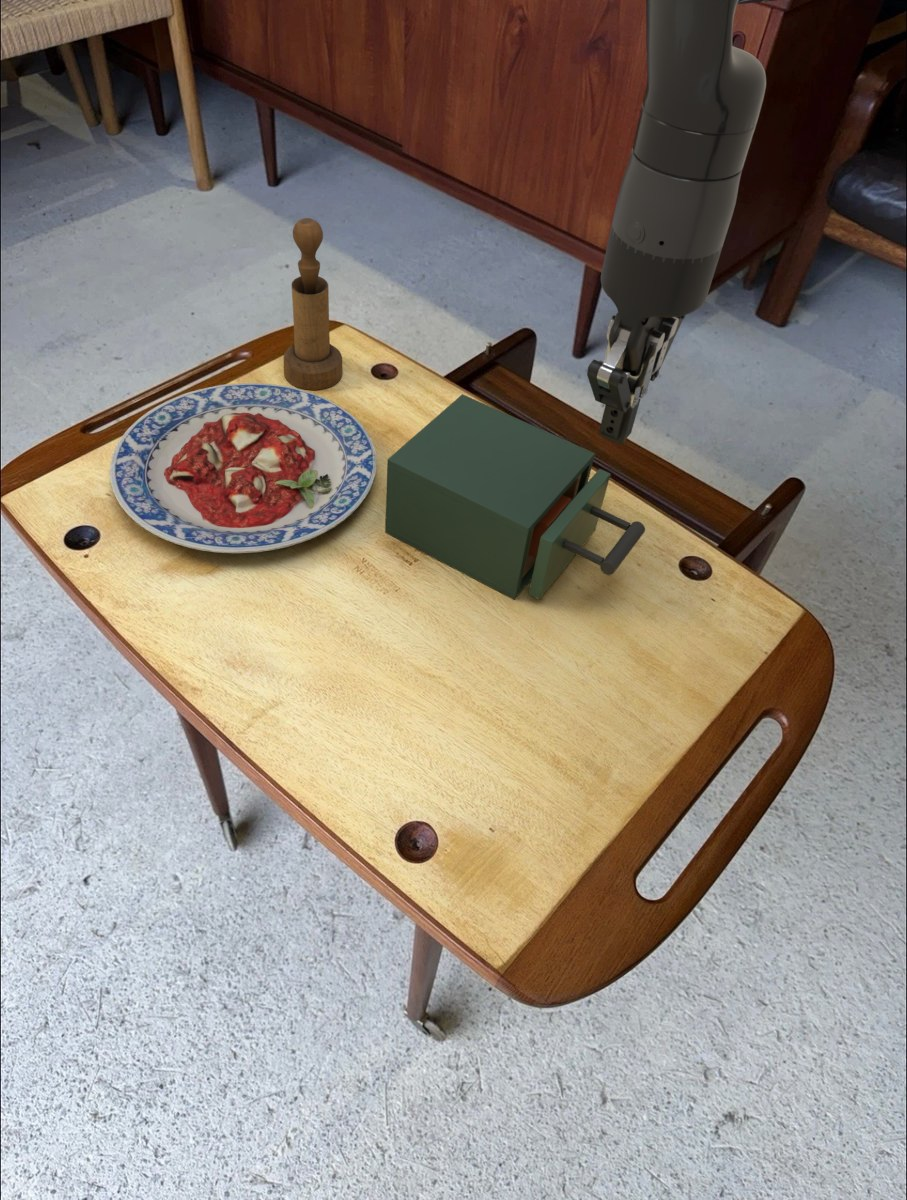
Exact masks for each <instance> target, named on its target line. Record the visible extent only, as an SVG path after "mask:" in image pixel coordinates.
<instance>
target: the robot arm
mask: <svg viewBox="0 0 907 1200" xmlns="http://www.w3.org/2000/svg"><path fill="white" fill-rule="evenodd" d="M775 1H776V2H777V0H645V27H646V29H645V42H646V43H645V44H646V45H645V46H646V84H645V89H644V93H643V97H642V100H641V101H642V102H641V106H640V111H639V116H638V120H637V125H636V129H635V134H634V139H633V143H632V148H631V151H630V154H629V158H628V162H627V164H626V166H625V169H624V172H623V175H622V178H621V182H620V185H619V189H618V194H617V199H616V203H615V207H614V212H613V217H612V222H611V227H610V232H609V236H608V240H607V244H606V245H607V246H606V250H605V255H604V260H603V264H602V267H601V268H602V269H601V273H600V283H601V287H602V290H603V292H604V293H605V294H606V296H607V297H608V298H610V300H611V302H613V304H614V306H615V307H616V309H617V313H614V314H613V315H612V316H611V317H610V319H609V322H608V326H607V330H606V334H605V335H606V340H607V347H606V352H605V355H604V360H596V359H593V360H592V361H591V362H590V363H589V365H588V366H587V371H586V376H587V379H588V382H589V386H590V388H591V391H592V394H593V397H594V400H595V402H598V403H601V404H603V405H605V406H604V409H603V413H602V417H601V421H600V425H599V430H598V431H599V432H598V433H599V435H600V436H601V437H602V438H603V439H605V440H608V441H610V442H613V443H615V444H617V445H621V444H623V443H624V442H625V441H626V440H627V438H628V437H629V436H630V435H631V434H632V432H633V428H634V424H635V421H636V417H637V414H638V411H639V407H640V402H641V399H643V398H644V397H645V395H647V394H648V391H649V385H650V383H651V382H654V381H655V380H656V379H657V378H658V376H659V374H660V371H661V368H662V365H663V364H664V362H665V359H666V358H667V355H668V353H669V351H670V348H671V347H672V345H673V343H674V341H675V338H676V336H677V334H678V332H679V329H680V327H681V326H682V322H683V321H684V320H685V318H686V316H687V315H690V314H692V313H694V312H695V311H697V310H699V309H700V308H701V307H702V306H703V305H704V303H705V302H706V300H707V298H708V294H709V291H710V289H711V285H712V282H713V278H714V275H715V273H716V269H717V266H718V263H719V259H720V257H721V253H722V249H723V247H724V243H725V240H726V237H727V234H728V231H729V227H730V224H731V222H732V218H733V215H734V211H735V207H736V204H737V199H738V195H739V194H738V193H739V187H740V181H741V176H742V173H743V169H744V166H745V162H746V160H747V156H748V153H749V149H750V146H751V143H752V141H753V136H754V133H755V130H756V127H757V124H758V121H759V117H760V113H761V110H762V106H763V102H764V99H765V94H766V90H767V73H766V70H765V68H764V66H763V64H762V62H761V61H760V60H759V59H758V58H757V57H755V56H754V55H753V54H751V53H750V52H748V51H746V50H744V49H741V48H738V47H736V46H734V45H733V31H734V30H733V28H734V19H735V13H736V9H737V7H738V5H746V4H756V3H757V4H759V3H766V2H775Z"/></svg>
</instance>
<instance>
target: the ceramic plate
mask: <svg viewBox="0 0 907 1200" xmlns="http://www.w3.org/2000/svg"><path fill="white" fill-rule="evenodd" d="M110 459H111V460H110V465H109V481H110V486H111V489H112V492H113V495H114V496H115V498H116V500H117V502H118V504H119V506H120V507H121V508H122V509H123V511H124V512H125V513H126V515H127V516H129V517H130V519H131V520H133V521H134V522H135V523H136V524H137V525H139V526H140V527H141V528H142V529H144V530H146V531H147V532H149V533H150V534H152V535H154V536H156V537H158V538H160V539H163V540H165V541H167V542H170V543H172V544H175V545H179V546H182V547H185V548H189V549H193V550H197V551H203V552H211V553H223V554H249V553H262V552H268V551H274V550H279V549H283V548H284V549H285V548H288V547H292V546H295V545H298V544H302V543H304V542H306V541H309V540H312V539H314V538H316V537H319V536H321V535H323V534H325V533H327V532H328V531H330V530H332V529H334V528H336V527H337V526H338V525H340V524H341V523H342V522H344V521H345V520H346V519H348V518H349V517H350V516H351V515H352V514H353V513H354V512H355V511H356V510H357V509H358V508H359V507H360V506H361V505H362V504H363V502H364V500H365V499H366V497H367V496H368V495H369V493H370V491H371V489H372V486H373V483H374V480H375V478H376V477H375V476H376V473H377V454H376V449H375V445H374V443H373V440H372V438H371V436H370V434H369V433H368V431H367V430H366V429H365V427H364V426H363V424H362V423H361V422H360V421H359V420H358V419H357V418H356V417H354V415H353V414H351V413H350V412H349V411H347V410H346V409H345V408H343V407H342V406H340V405H339V404H337V403H335V402H334V401H332V400H330V399H328V398H326V397H324V396H321V395H319V394H316V393H313V392H310V391H308V390H305V389H301V388H298V387H294V386H288V385H280V384H272V383H263V382H262V383H261V382H245V383H243V382H242V383H228V384H227V383H226V384H218V385H214V386H210V387H205V388H200V389H196V390H192V391H188V392H185V393H182V394H180V395H178V396H175V397H173V398H171V399H168V400H166V401H164V402H163V403H161V404H158V405H157V406H156V407H153V408H152V409H150V410H149V411H147V412H145V413H144V414H143V415H142V416H140V417H139V418H138V419H137V420H136V421H134V422H133V423H132V424H131V426H129V427H128V429H126V431H125V432H124V433H123V435H122V436H121V437H120V439H119V440H118V442H117V444H116V446H115V447H114V450H113V453H112V456H111V458H110Z"/></svg>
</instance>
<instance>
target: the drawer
mask: <svg viewBox="0 0 907 1200" xmlns="http://www.w3.org/2000/svg"><path fill="white" fill-rule="evenodd" d="M611 475H612V474H611V473H610V472H609V471H606V470H604V469H602V468H598V470H597V471H596V472H595V473H594V475H592V476H591V478H589V479H588V483H587V484H586V485H585V486H584V487H583V488H582V490H581V491H580V492H579V493H578V494H577V490H578V486H579V482H580V478H581V475H580V476H579V477H578V478H577V479H576V480H575V482H574V483H573V484H572V485H571V486H570V487H569V488H568V490H567V491H566V492H565V493H564V494H563V495H564V496H566V497H569V498H571V499H572V500H571V502H570V504H569V505H568V506H567V507H566V508H565V509H564V511H563V512H562V513H561V514H560V515H559V516H558V518H557V519H556V520H555V521H554V522H553V523H552V524H551V526H550V527H549V528H548V529H547V530H546V531H545V533H544V534H543V535H542V536H541V538H540V543H539V547H538V552H537V557H536V558H534V557H532V556H530V555H529V550H530V545H531V540H532V535H533V530H534V528H533V529H532V532H531V537H530V542H529V547H528V552H527V557H526V562H525V567H524V572H523V577H524V576H525V574H526V573H527V572H528V571H529V570H530V569H531V567H532V566H533V565H534V564H535V566H534V571H533V575H532V580H531V581H530V585H529V589H528V596H531V597H532V598H535V599H537V600H541V599H542V597H544V595H545V594H546V593H547V591H549V589H550V588H551V586H552V585H553V584H554V583H555V582H556V580H557V579H558V578H559V576H560V575H561V574H562V573H563V571H564V570H565V569H566V568H567V567H568V565H569V564H570V563H571V561H573V559H574V558H575V557H576V556H578V557H580V558H583V559H585V560H586V561H589V562H590V563H593V564H594V565H597V566H599V570H600V571H601V572H602V573H603V574H605V575H606V576H612V575H614V574H615V572H616V571H617V570H618V568H619V567H620V566H621V564H622V563H623V562H624V560H625V559H626V558H627V557H628V555H629V554H630V553H631V551H632V550H633V548H634V547H635V546H636V544H637V543H638V541H639V540H640V539H641V538H642V536H643V534H644V533H645V532H646V527H645V524H643V523H642V522H640V521H637V520H635V521H633V522H629V521H627V520H625V519H623V518H620V517H618V516H617V515H615V514H612V513H610V512H608V511H605V510H604V509H602V507H603V504H604V501H605V497H606V493H607V489H608V485H609V482H610V478H611ZM599 519H600V520H602V521H605V522H607V523H609V524H611V525H612V526H615V527H616V528H620V529H622V530H623V531H624V532H623V534H622V535H621V536H620V538H619V539H618V540H617V541H616V543H615V544H614V545H613V547H612V548H611V550H609V552H608V553H607V555H606V556H605V557H603V556H601V555H600V554H597V553H595V552H593V551H591V550H589V549H587V548H585V547H583V546H585V544H586V543H587V542H588V540H589V539H590V538H591V536H593V534H594V533H595V531H596V529H597V526H598V523H599ZM523 577H522V578H523Z"/></svg>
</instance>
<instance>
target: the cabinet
mask: <svg viewBox="0 0 907 1200" xmlns="http://www.w3.org/2000/svg"><path fill="white" fill-rule="evenodd" d="M595 456H596V452H592V451H591V450H589V449H586V448H584V447H582V446H579V445H577V444H575V443H574V442H573V443H572V442H570V441H569V440H566V439H563V438H561V437H559V436H557V435H555V434H553V433H550V432H548V431H546V430H543V429H541V428H539V427H537V426H534V425H533V424H530V423H528V422H526V421H524V420H521V419H519V418H517V417H515V416H513V415H510V414H508V413H506V412H503V411H501V410H499V409H497V408H495V407H492V406H490V405H488V404H485V403H483V402H482V401H480V400H476V399H475V398H472V397H470V396H468V395H465V394H462V393H461V395H460V396H458V397H457V398H456V399H455V400H454V401H453V402H451V403H450V404H449V405H448V406H447V407H446V408H445V409H443V410H442V411H441V412H440V413H439V414H438V415H436V417H433V418H432V420H431V421H429V422H428V423H427V424H426V425H425V426H424V427H423V428H421V430H419V431H418V432H417V433H416V434H415V435H414V436H412V437H411V438H410V439H409V440H408V441H407V442H405V444H403V445H402V446H401V447H400V448H399V449H397V450H396V451H395V452H394V453H393V454H392V455H391V456H389V457H388V458H387V464H386V467H387V468H386V492H385V493H386V494H385V495H386V496H385V519H384V521H385V523H384V526H385V527H384V533H385V534H387V535H389V536H391V537H392V538H395V539H396V540H399V541H401V542H402V543H404V544H406V545H408V546H410V547H412V548H414V549H416V550H418V551H420V552H422V553H423V554H426V555H428V556H429V557H430V558H431V557H432V558H433V559H435V560H437V561H439V562H440V563H443V564H445V565H447V566H449V567H451V568H452V569H455V570H456V571H458V572H460V573H461V574H464V575H466V576H468V577H469V578H472V579H474V580H476V581H477V582H479V583H482V584H483V585H485V586H487V587H489V588H491V589H493V590H495V591H497V592H498V593H500V594H502V595H504V596H507V598H510V599H512V600H514V601H515V600H516V599H517V598H518V596H519V595H520V594H521V593H523V591H524V590H525V588H526V587H527V586H528V585H529V583H531V580H532V575H533V571H534V566H535V564H534V565H533V566H532V567H531V569H530V570H529V571H528V572H527V573H526V574H525V576H524V577H523V572H524V567H525V562H526V557H527V552H528V547H529V542H530V537H531V532H532V529H533V528H534V527H535V526H536V525H537V524H538V523H539V521H540V520H541V519H542V518H543V517H544V516H545V515H546V513H547V512H548V511H549V510H550V509H551V508H552V507H553V505H554V504H555V503H556V502H557V501H558V500H559V499H560V497H561V496H562V495H563V494H564V493H565V492H566V491H567V490H568V488H569V487H570V486H571V485H572V484H573V483H574V482H575V480H576V479H577V478H578V477H579V476H580V475H581V478H580V482H579V486H578V490H577V494H578V493H579V492H580V491H581V490H582V488H583V487H584V486H585V485H586V484H587V483H588V481H589V480H590V475H591V471H592V468H593V463H594V459H595ZM522 577H523V578H522Z"/></svg>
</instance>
